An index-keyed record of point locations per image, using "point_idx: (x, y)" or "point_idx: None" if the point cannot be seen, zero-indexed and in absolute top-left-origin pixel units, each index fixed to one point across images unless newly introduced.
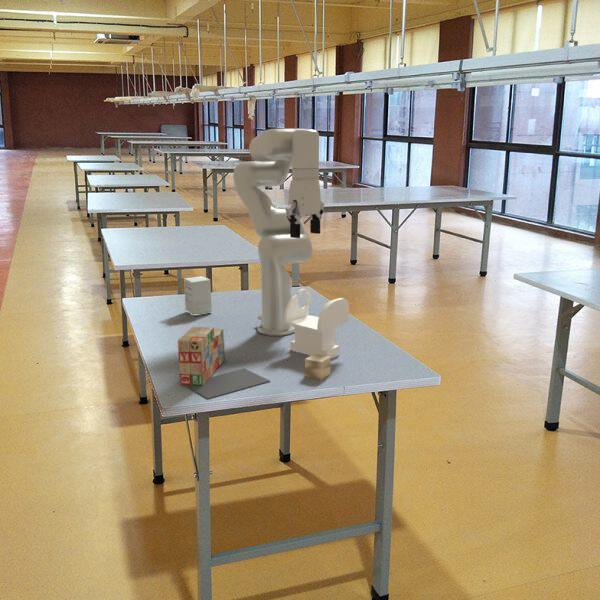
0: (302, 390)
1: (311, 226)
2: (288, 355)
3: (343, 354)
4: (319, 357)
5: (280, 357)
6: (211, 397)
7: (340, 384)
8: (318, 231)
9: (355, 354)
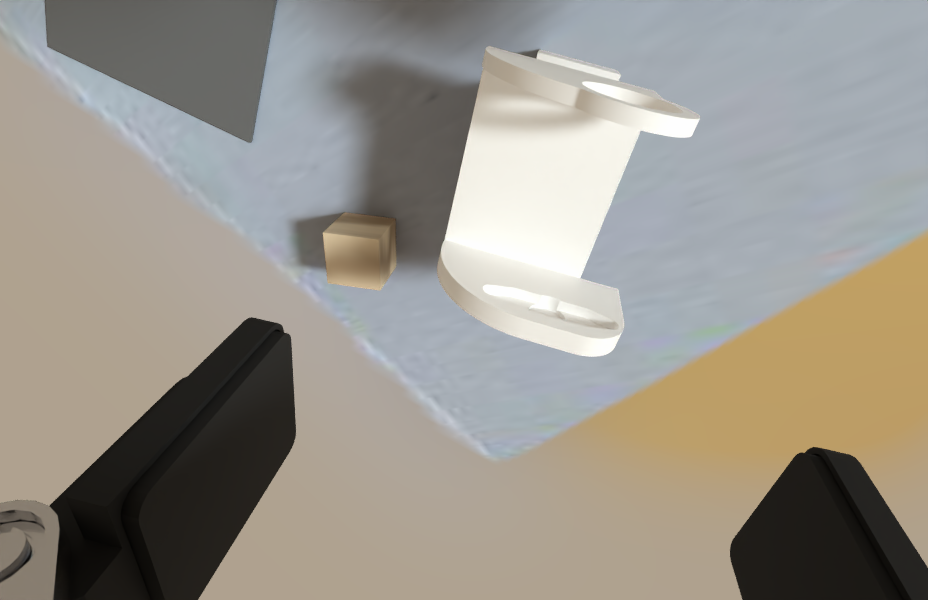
0: (262, 245)
1: (843, 566)
2: (481, 73)
3: None
4: (357, 265)
5: (447, 56)
6: (60, 51)
7: (348, 309)
8: (739, 576)
9: (585, 276)
